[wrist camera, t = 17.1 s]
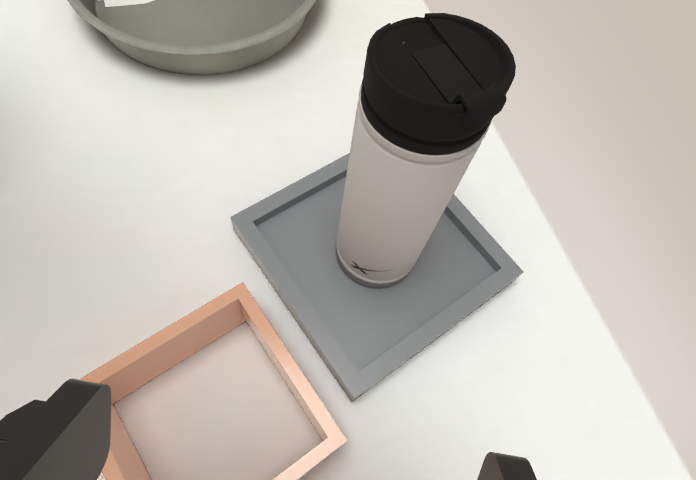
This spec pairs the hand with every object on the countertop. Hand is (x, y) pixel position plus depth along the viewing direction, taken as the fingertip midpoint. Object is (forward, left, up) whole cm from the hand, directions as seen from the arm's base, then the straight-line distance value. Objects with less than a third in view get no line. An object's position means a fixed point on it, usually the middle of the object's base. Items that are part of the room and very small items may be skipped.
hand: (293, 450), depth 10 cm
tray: (-9, +13, -23) cm, 28 cm away
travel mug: (-9, +13, -23) cm, 28 cm away
